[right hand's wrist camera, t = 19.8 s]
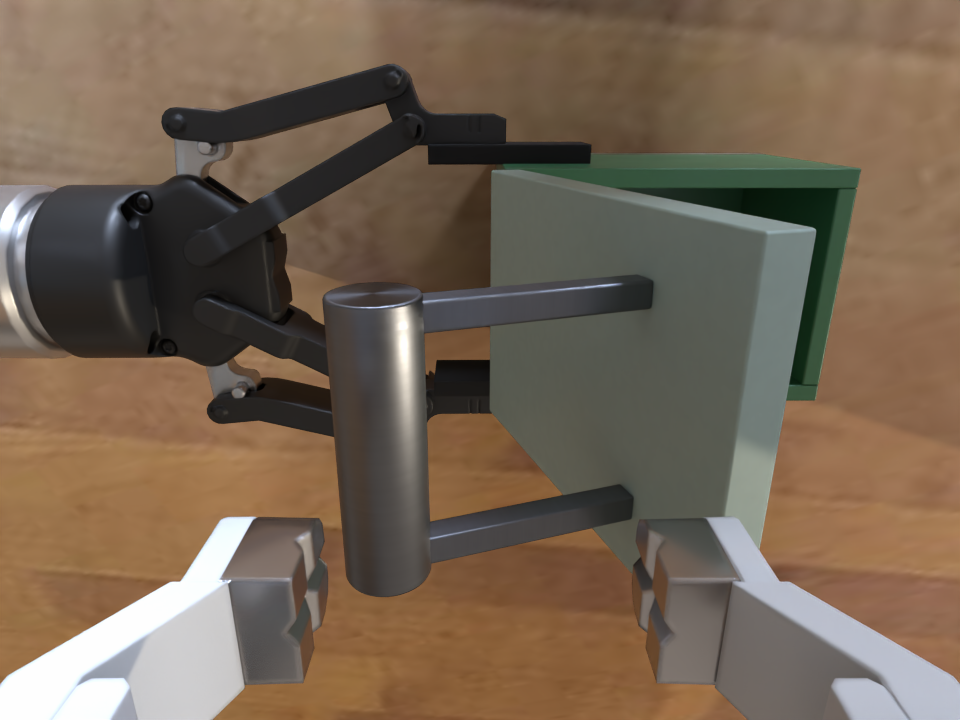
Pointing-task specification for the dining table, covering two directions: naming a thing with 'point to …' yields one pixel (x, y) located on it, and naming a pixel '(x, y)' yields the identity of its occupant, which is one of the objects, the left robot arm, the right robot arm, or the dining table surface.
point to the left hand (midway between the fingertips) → (578, 271)
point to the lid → (576, 374)
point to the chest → (753, 191)
